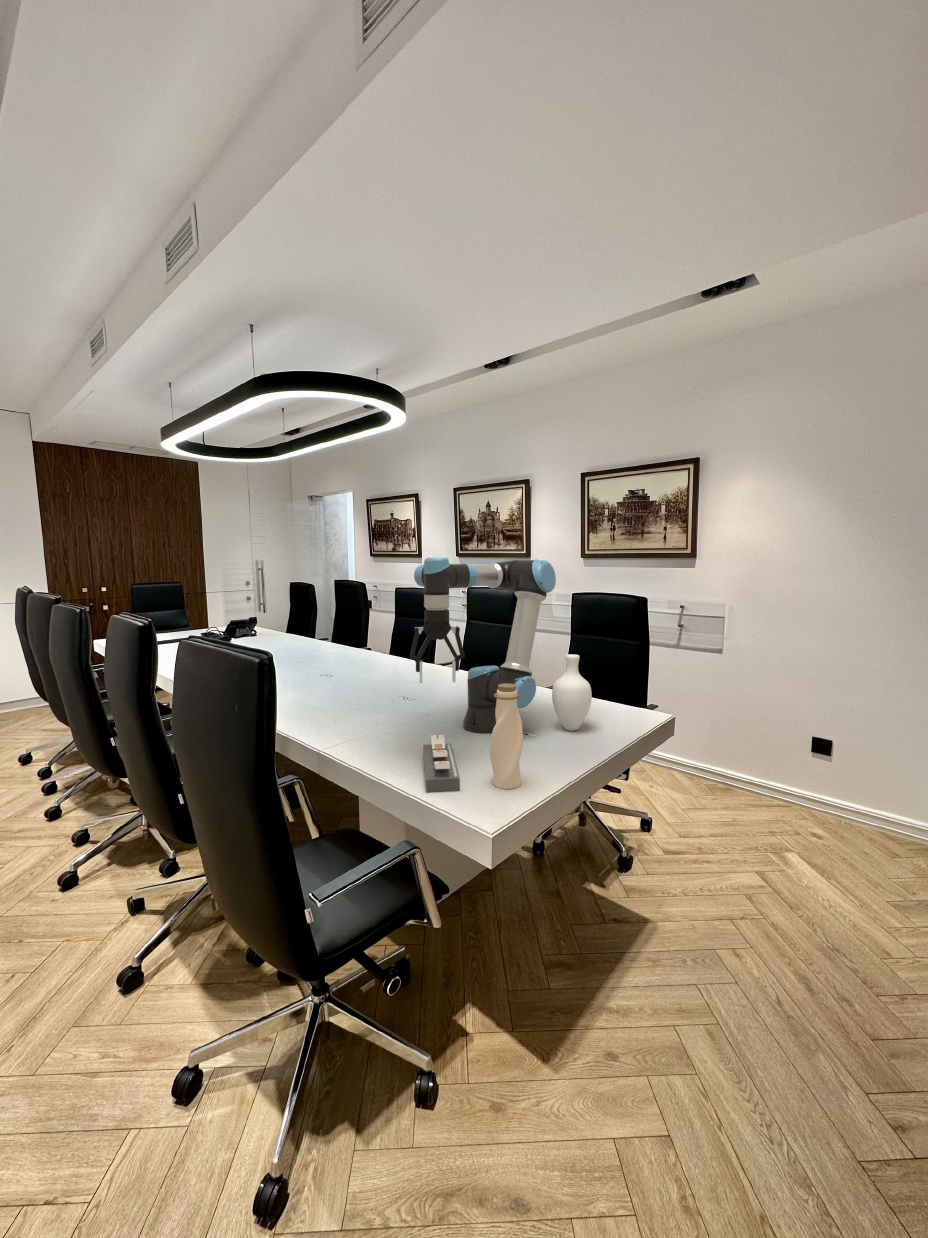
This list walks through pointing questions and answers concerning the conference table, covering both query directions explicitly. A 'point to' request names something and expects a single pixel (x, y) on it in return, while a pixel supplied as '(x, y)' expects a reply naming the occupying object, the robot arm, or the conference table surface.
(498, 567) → the robot arm
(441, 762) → the rocker
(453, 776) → the power strip
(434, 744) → the rocker
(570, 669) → the vase
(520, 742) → the water bottle
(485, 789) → the conference table surface
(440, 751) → the rocker
